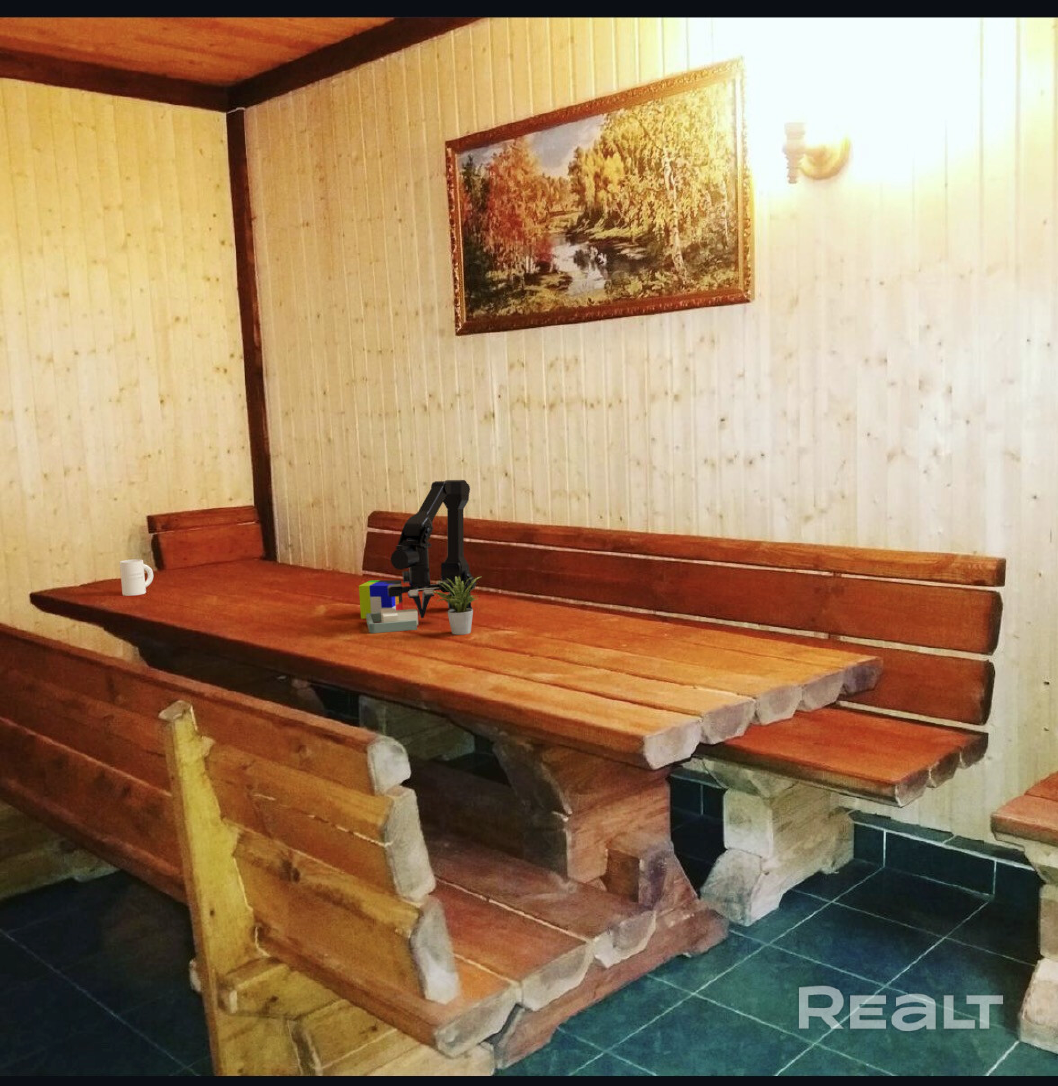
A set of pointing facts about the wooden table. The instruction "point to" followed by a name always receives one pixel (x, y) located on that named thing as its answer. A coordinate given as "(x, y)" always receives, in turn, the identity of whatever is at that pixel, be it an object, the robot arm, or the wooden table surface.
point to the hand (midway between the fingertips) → (422, 617)
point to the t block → (398, 615)
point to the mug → (134, 577)
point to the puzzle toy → (378, 597)
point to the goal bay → (388, 624)
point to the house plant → (459, 606)
